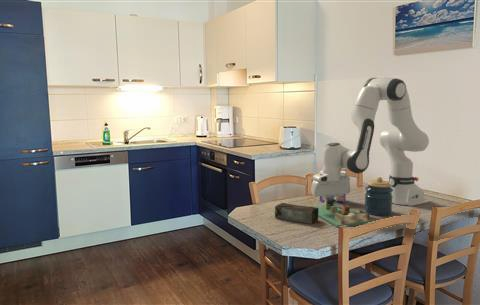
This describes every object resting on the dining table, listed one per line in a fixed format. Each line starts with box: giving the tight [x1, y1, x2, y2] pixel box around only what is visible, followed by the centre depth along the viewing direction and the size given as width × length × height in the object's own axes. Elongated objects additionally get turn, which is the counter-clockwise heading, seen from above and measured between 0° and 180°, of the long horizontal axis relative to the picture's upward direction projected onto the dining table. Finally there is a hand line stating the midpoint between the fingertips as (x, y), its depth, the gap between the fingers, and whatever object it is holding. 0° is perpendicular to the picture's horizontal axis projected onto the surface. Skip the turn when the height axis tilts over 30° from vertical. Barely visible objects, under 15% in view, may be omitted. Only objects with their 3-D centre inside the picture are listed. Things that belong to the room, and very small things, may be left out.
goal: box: [335, 209, 370, 224], centre depth 181 cm, size 14×6×4 cm, turn 108°
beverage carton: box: [274, 202, 319, 225], centre depth 186 cm, size 8×19×7 cm, turn 59°
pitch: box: [309, 203, 376, 228], centre depth 191 cm, size 20×30×3 cm, turn 18°
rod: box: [326, 197, 351, 216], centre depth 192 cm, size 17×3×5 cm, turn 18°
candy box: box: [318, 169, 347, 203], centre depth 218 cm, size 14×6×16 cm, turn 80°
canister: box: [363, 176, 393, 217], centre depth 196 cm, size 13×13×18 cm
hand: (330, 203), depth 198 cm, fingers closed on rod, 3 cm apart
